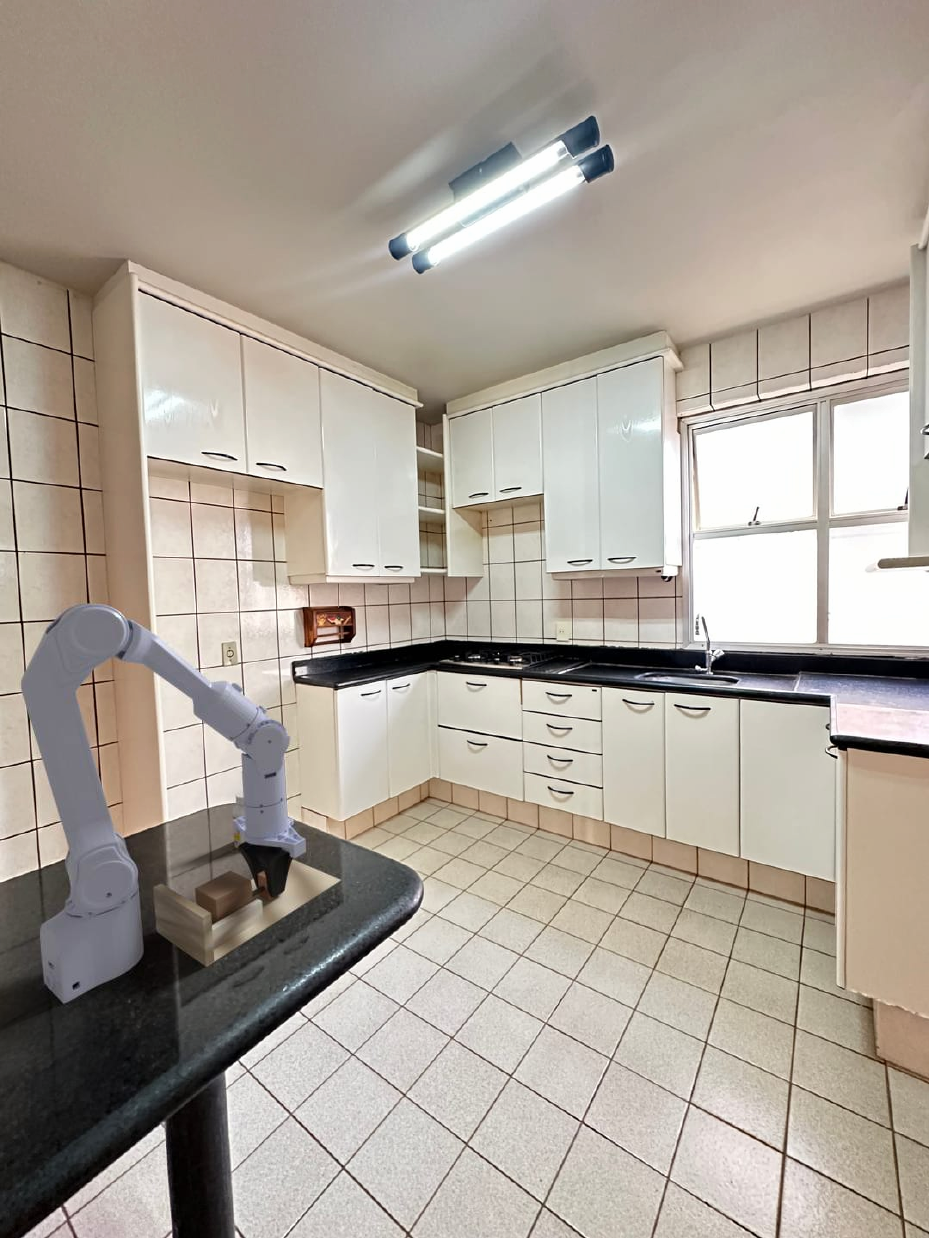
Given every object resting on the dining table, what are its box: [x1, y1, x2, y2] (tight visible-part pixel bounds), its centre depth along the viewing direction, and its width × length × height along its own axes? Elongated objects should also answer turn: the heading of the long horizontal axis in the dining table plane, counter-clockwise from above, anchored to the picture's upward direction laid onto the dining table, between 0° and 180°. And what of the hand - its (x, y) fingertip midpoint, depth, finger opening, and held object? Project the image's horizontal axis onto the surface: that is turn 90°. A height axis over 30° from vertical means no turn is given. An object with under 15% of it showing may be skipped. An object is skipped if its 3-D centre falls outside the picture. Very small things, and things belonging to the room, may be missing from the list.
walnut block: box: [194, 870, 283, 925], centre depth 72 cm, size 11×5×5 cm, turn 146°
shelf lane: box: [152, 859, 342, 967], centre depth 74 cm, size 21×12×7 cm, turn 146°
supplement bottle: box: [232, 790, 246, 850], centre depth 92 cm, size 5×5×10 cm
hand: (271, 890), depth 76 cm, fingers closed on walnut block, 2 cm apart
